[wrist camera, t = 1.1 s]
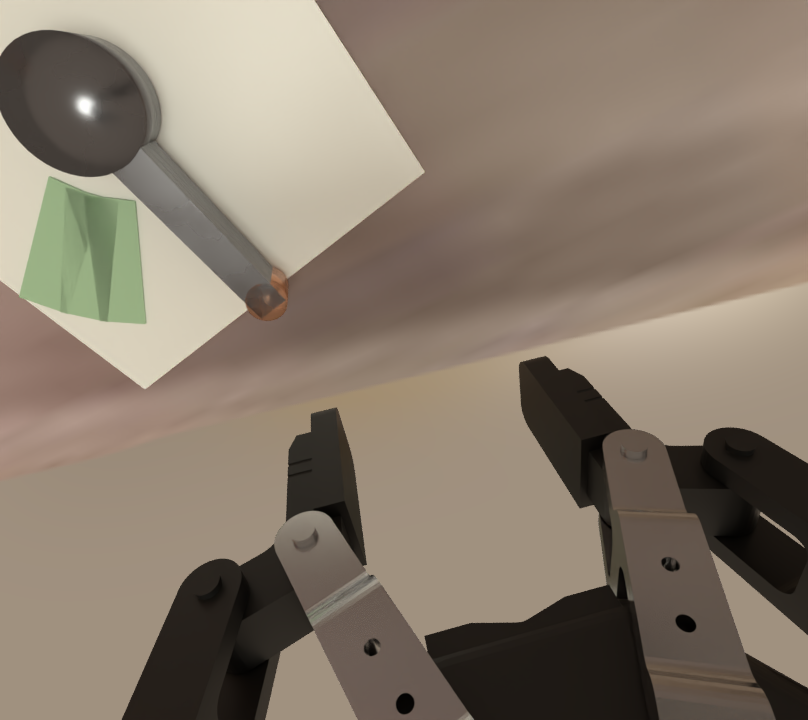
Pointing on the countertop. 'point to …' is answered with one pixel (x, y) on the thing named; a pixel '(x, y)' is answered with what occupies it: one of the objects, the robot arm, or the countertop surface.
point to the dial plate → (197, 169)
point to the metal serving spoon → (123, 148)
